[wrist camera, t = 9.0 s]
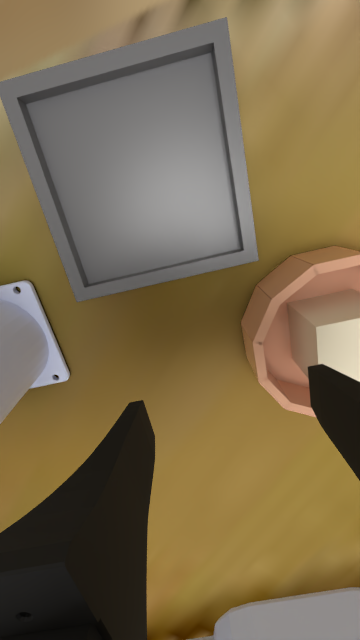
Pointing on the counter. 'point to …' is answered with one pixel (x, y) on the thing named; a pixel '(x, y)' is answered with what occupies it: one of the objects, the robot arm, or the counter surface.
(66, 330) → the counter surface
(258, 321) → the bowl
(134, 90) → the parts tray
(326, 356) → the cream cube block
